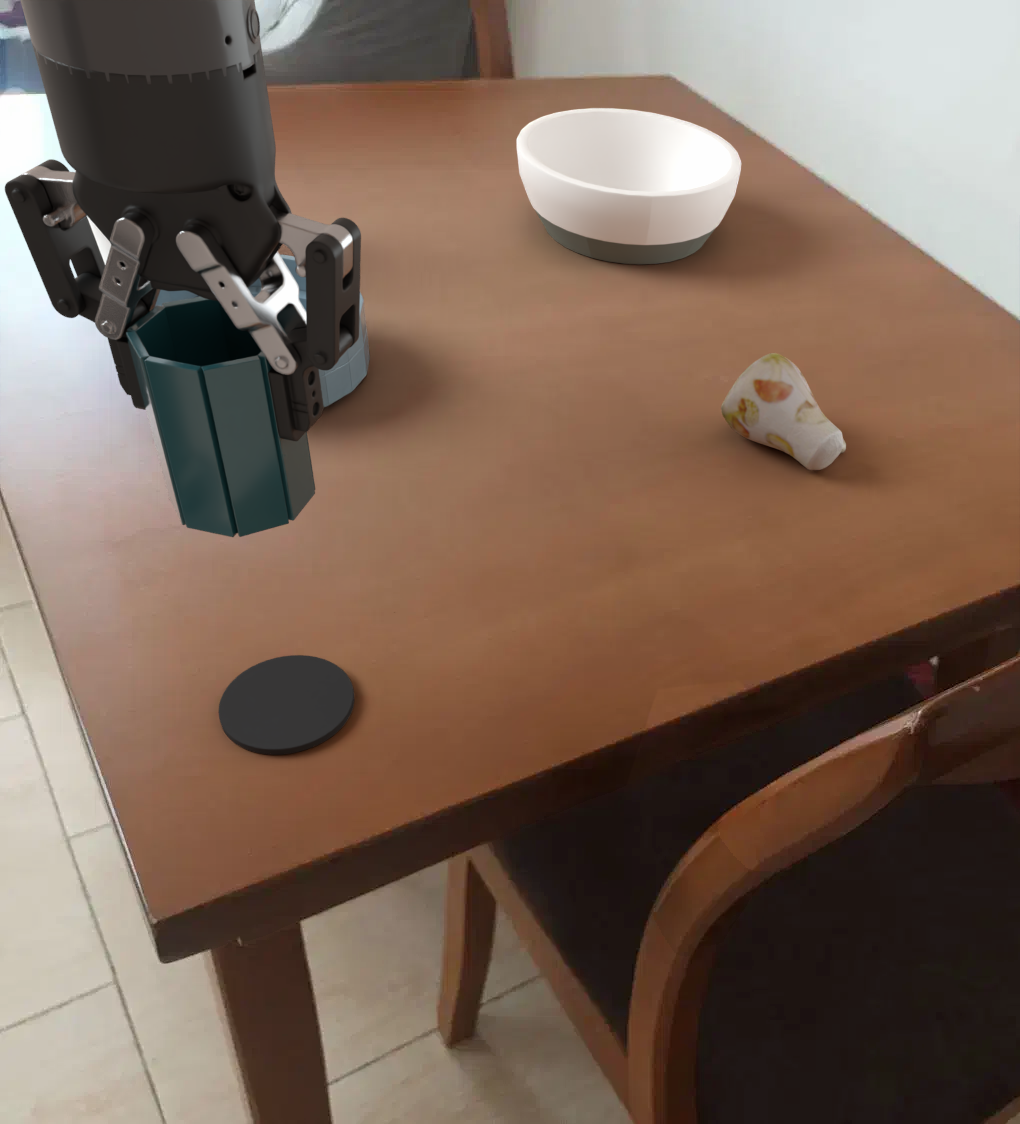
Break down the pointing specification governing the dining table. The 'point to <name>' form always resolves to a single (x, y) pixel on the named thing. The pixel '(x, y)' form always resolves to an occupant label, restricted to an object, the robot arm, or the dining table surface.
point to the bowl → (627, 182)
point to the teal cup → (216, 421)
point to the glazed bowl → (332, 381)
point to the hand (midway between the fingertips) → (227, 415)
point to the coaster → (286, 704)
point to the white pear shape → (782, 413)
